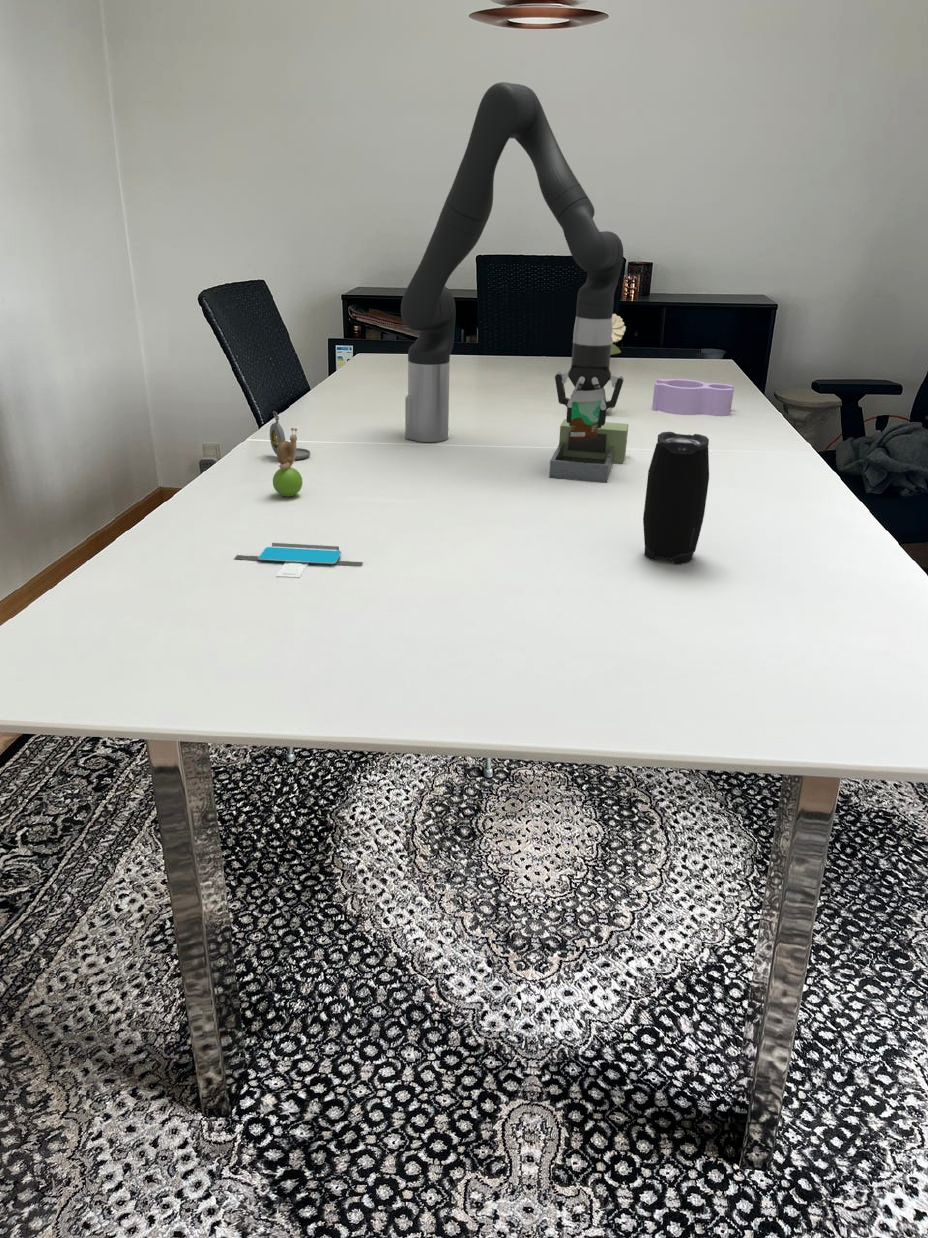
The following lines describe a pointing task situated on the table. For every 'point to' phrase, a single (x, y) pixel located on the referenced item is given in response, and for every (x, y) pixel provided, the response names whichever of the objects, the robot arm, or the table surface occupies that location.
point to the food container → (585, 413)
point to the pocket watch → (283, 439)
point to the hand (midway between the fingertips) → (585, 425)
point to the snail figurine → (287, 469)
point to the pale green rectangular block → (596, 442)
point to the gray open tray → (580, 466)
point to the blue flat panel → (299, 557)
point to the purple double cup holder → (692, 397)
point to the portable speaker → (676, 496)
